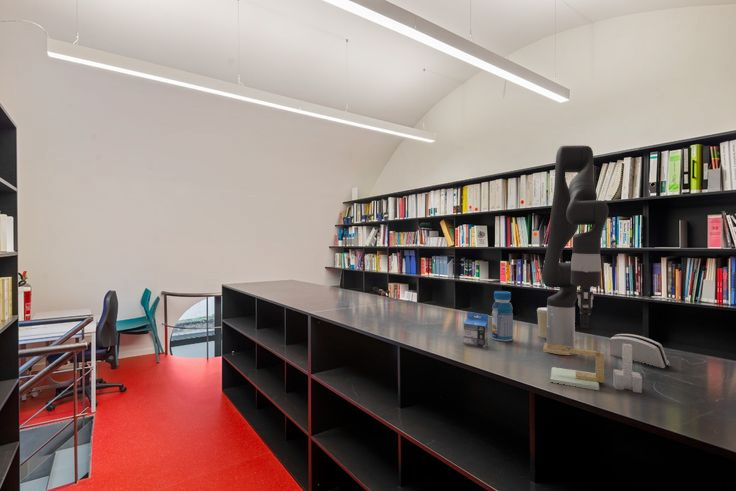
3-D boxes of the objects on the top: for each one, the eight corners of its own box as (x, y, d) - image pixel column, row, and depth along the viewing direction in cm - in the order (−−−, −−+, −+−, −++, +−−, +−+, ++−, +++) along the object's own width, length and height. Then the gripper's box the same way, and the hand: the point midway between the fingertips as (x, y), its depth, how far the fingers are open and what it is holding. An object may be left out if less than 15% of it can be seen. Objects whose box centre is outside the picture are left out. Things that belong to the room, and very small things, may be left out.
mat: (550, 382, 107) (550, 378, 107) (551, 370, 118) (551, 367, 118) (599, 390, 101) (599, 386, 101) (596, 376, 112) (596, 373, 112)
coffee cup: (565, 338, 158) (566, 310, 158) (547, 340, 155) (548, 311, 155) (549, 333, 167) (549, 306, 167) (532, 334, 164) (532, 307, 164)
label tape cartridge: (462, 343, 149) (463, 313, 149) (466, 341, 152) (466, 311, 152) (484, 347, 143) (485, 315, 143) (488, 345, 146) (488, 314, 146)
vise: (615, 388, 102) (615, 345, 102) (611, 376, 112) (611, 336, 112) (641, 393, 100) (642, 348, 100) (635, 380, 109) (635, 339, 109)
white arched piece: (671, 365, 123) (666, 338, 121) (664, 372, 120) (659, 345, 119) (617, 352, 137) (612, 328, 136) (610, 358, 135) (605, 334, 134)
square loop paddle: (543, 375, 110) (543, 348, 110) (544, 368, 116) (544, 342, 116) (604, 384, 103) (604, 356, 103) (602, 376, 109) (602, 349, 109)
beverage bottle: (506, 343, 150) (507, 293, 150) (487, 339, 156) (488, 291, 156) (516, 339, 156) (516, 292, 156) (497, 335, 162) (498, 290, 162)
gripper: (571, 267, 116) (570, 318, 116) (570, 270, 103) (569, 328, 104) (599, 268, 112) (598, 321, 113) (602, 271, 100) (601, 331, 100)
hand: (584, 324), depth 108 cm, fingers open, 8 cm apart
